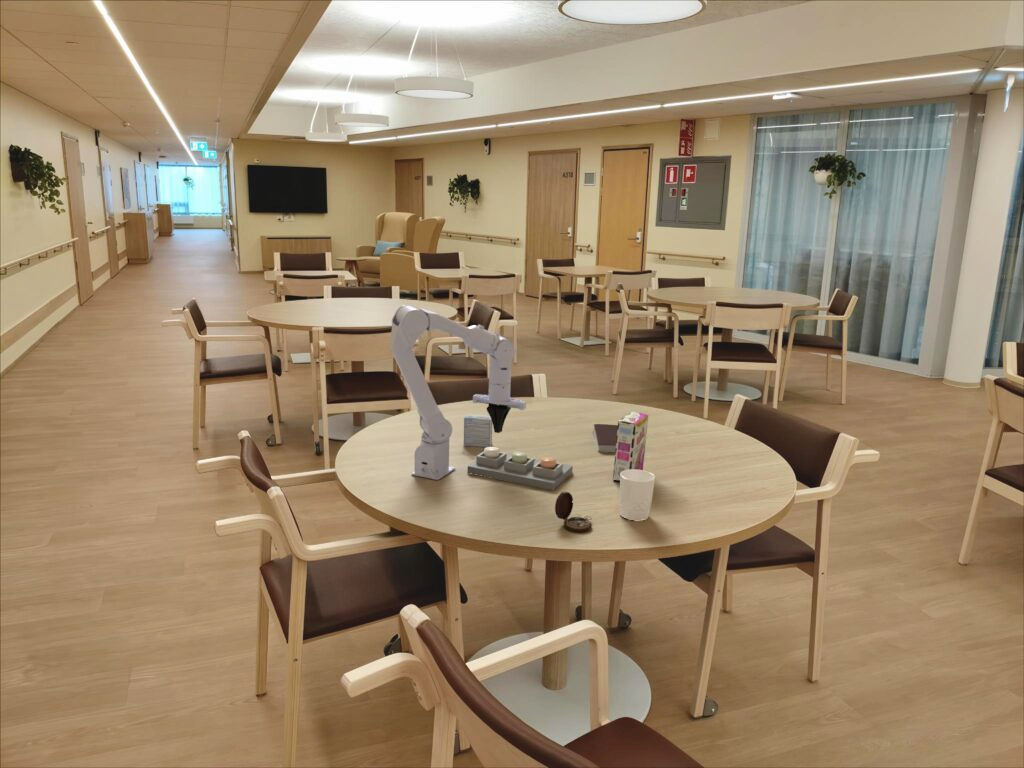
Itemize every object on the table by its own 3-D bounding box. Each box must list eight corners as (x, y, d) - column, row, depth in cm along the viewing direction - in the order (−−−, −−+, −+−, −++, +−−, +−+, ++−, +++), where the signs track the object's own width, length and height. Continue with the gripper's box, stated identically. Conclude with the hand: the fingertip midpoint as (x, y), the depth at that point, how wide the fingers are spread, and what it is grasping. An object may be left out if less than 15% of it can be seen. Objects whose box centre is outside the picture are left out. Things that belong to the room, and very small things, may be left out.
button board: (553, 490, 186) (554, 475, 186) (467, 473, 196) (467, 458, 195) (572, 473, 199) (573, 458, 198) (490, 457, 208) (491, 443, 207)
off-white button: (495, 460, 196) (495, 452, 196) (481, 457, 198) (481, 450, 197) (501, 455, 200) (501, 448, 199) (488, 453, 201) (488, 445, 201)
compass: (582, 536, 162) (584, 504, 160) (552, 525, 167) (553, 494, 165) (601, 524, 168) (603, 494, 167) (572, 514, 173) (574, 485, 171)
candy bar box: (630, 485, 192) (635, 424, 188) (612, 481, 194) (616, 420, 190) (644, 472, 202) (649, 413, 198) (626, 468, 204) (631, 410, 200)
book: (632, 435, 235) (633, 425, 234) (640, 455, 216) (641, 445, 215) (592, 433, 235) (593, 423, 234) (597, 454, 216) (597, 443, 216)
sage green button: (523, 465, 193) (523, 458, 193) (509, 462, 195) (509, 455, 194) (529, 460, 197) (529, 453, 196) (515, 458, 198) (515, 450, 198)
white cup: (647, 509, 178) (651, 469, 175) (654, 523, 170) (658, 482, 167) (614, 508, 177) (617, 468, 175) (620, 522, 170) (623, 481, 167)
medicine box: (492, 443, 220) (493, 415, 218) (490, 448, 216) (491, 419, 214) (465, 441, 221) (466, 413, 219) (463, 446, 217) (463, 417, 215)
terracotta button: (552, 470, 190) (552, 463, 190) (537, 468, 192) (538, 460, 191) (557, 466, 194) (558, 458, 193) (543, 463, 195) (543, 456, 195)
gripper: (531, 382, 198) (528, 431, 201) (481, 375, 203) (480, 423, 207) (520, 388, 192) (518, 439, 195) (469, 381, 197) (468, 430, 200)
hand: (498, 431), depth 200 cm, fingers closed
